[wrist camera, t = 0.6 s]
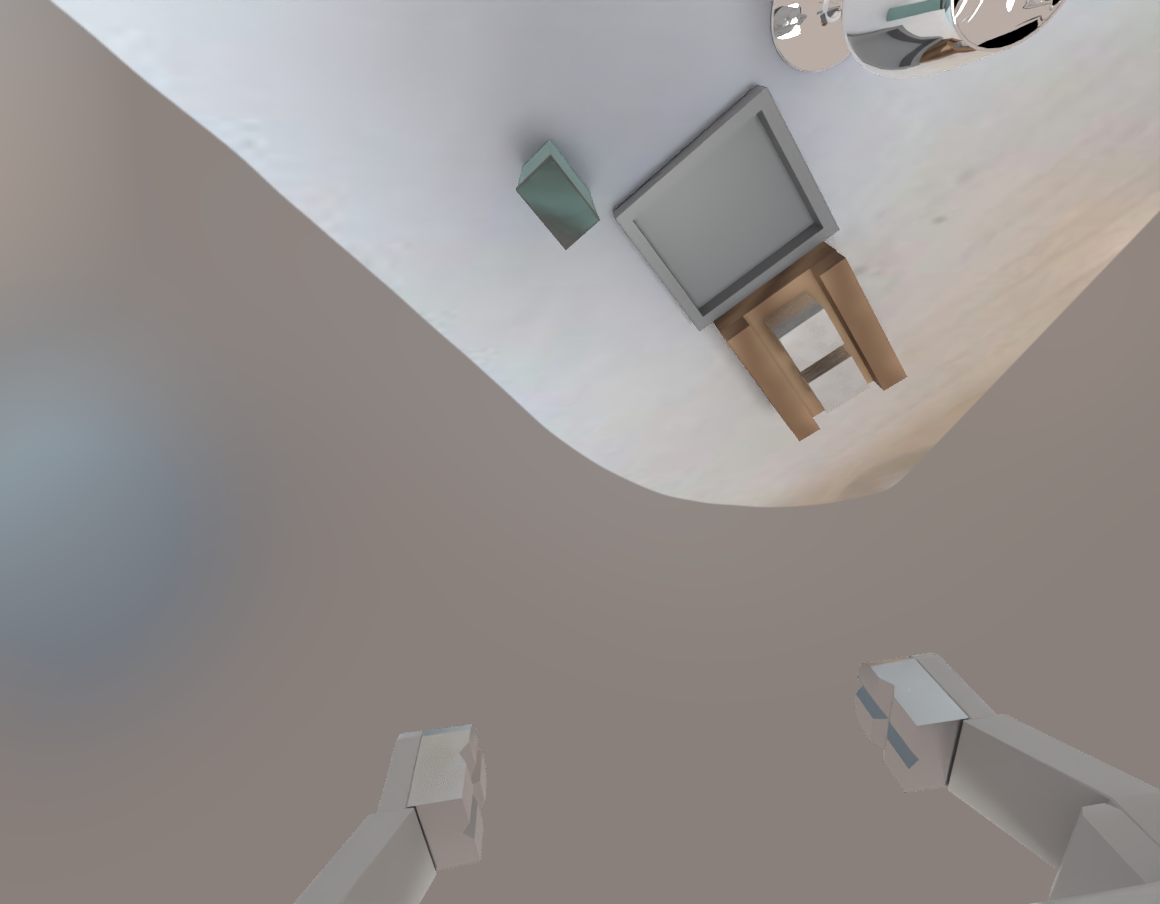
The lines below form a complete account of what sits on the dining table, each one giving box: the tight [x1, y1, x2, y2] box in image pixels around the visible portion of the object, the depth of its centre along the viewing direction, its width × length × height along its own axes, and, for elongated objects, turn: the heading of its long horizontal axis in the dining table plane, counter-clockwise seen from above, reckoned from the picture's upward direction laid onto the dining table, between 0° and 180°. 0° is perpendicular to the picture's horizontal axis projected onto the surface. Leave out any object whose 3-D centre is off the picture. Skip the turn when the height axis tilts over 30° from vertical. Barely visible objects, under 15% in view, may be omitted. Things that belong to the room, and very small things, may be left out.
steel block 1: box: [763, 291, 844, 372], centre depth 46 cm, size 4×4×4 cm
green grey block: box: [516, 140, 600, 250], centre depth 40 cm, size 5×3×10 cm, turn 40°
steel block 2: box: [792, 346, 870, 413], centre depth 48 cm, size 4×4×4 cm
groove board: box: [713, 242, 907, 441], centre depth 50 cm, size 11×14×7 cm
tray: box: [613, 86, 840, 331], centre depth 46 cm, size 14×13×2 cm
